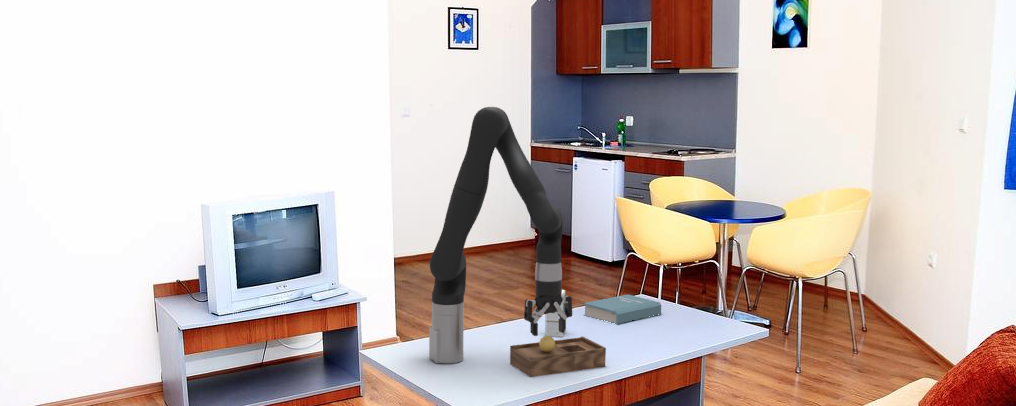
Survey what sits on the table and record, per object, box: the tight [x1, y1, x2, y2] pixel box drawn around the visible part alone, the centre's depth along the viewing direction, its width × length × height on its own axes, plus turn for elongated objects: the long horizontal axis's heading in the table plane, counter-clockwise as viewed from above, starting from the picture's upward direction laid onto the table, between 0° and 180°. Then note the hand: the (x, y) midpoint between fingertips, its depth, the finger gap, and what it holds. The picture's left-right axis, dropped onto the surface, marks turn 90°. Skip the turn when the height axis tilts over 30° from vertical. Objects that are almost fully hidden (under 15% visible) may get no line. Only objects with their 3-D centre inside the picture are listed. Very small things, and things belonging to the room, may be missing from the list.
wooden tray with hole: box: [509, 335, 607, 378], centre depth 256 cm, size 24×13×6 cm, turn 115°
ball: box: [539, 335, 555, 352], centre depth 254 cm, size 5×5×5 cm
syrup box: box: [544, 289, 566, 338], centre depth 288 cm, size 6×6×14 cm
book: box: [583, 294, 662, 325], centre depth 315 cm, size 23×16×5 cm
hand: (548, 333), depth 253 cm, fingers open, 8 cm apart
